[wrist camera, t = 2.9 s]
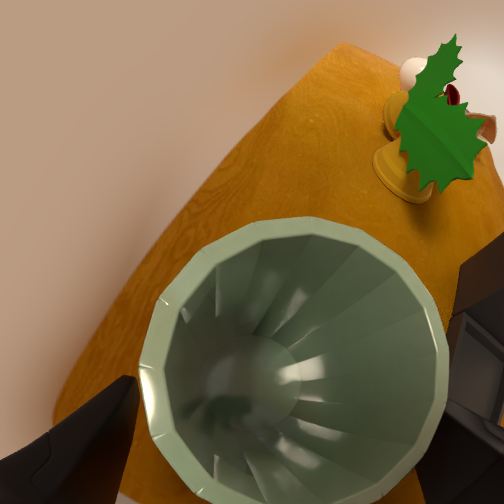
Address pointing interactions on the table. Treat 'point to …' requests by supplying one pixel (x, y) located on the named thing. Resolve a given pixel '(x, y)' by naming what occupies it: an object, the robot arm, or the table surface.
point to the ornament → (428, 132)
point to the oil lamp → (485, 126)
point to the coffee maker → (479, 334)
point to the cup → (294, 367)
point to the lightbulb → (410, 72)
